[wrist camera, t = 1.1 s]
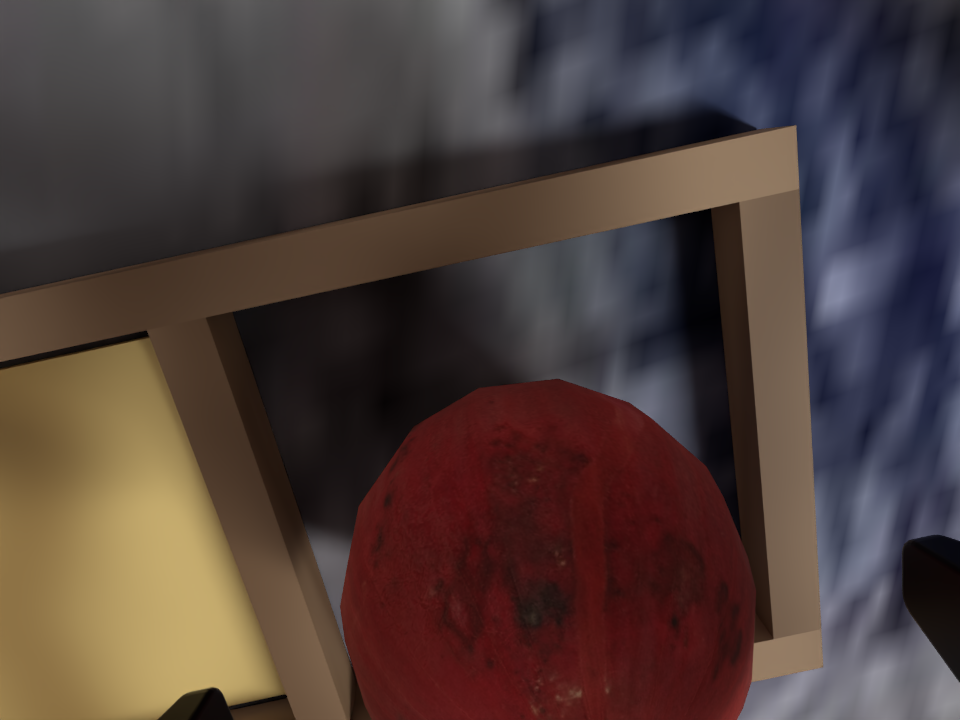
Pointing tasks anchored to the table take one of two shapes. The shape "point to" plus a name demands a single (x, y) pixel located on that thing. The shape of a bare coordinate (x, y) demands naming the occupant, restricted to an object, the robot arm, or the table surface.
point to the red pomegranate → (547, 569)
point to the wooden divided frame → (257, 462)
